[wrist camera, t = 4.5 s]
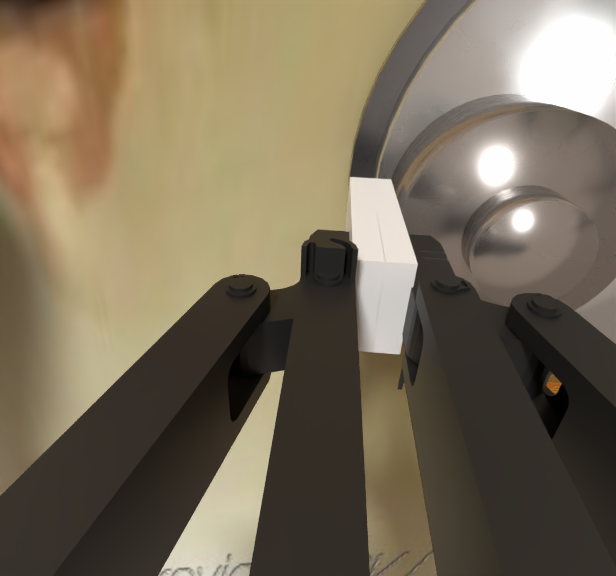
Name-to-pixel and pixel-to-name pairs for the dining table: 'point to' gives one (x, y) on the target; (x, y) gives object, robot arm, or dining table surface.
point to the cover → (516, 197)
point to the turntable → (515, 80)
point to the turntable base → (396, 80)
